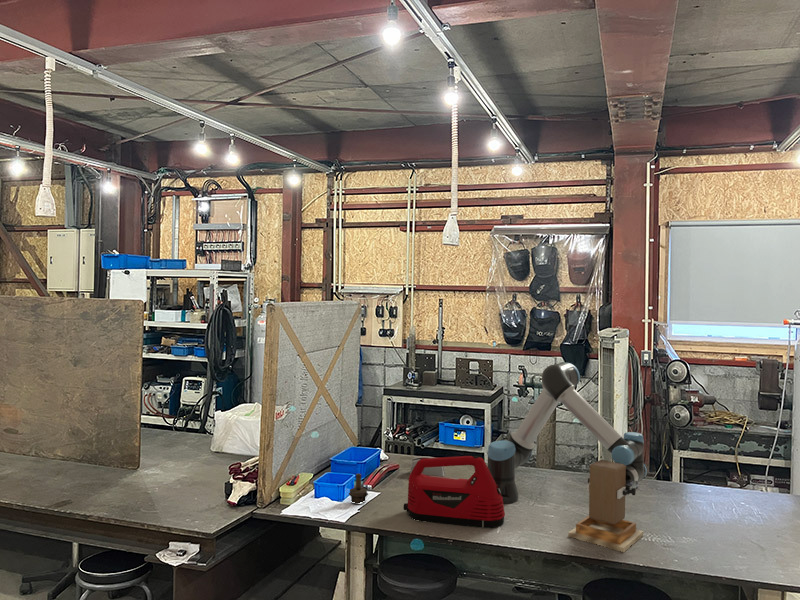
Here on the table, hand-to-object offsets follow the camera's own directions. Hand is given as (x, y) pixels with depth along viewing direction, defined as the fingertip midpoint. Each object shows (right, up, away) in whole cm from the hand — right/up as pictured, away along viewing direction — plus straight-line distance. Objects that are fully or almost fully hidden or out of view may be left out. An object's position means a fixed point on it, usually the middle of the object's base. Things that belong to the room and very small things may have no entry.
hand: (602, 491), depth 213 cm
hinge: (-60, -16, +75) cm, 97 cm away
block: (+3, -11, +3) cm, 12 cm away
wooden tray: (+2, -17, +3) cm, 18 cm away
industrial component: (-91, -16, +34) cm, 98 cm away
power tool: (-52, -17, +19) cm, 58 cm away
